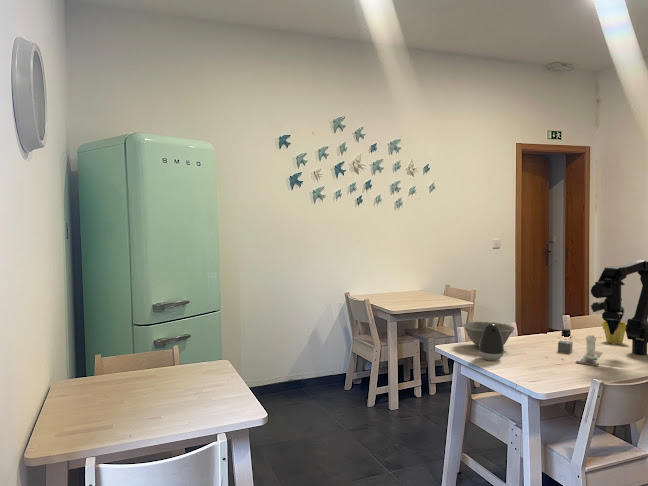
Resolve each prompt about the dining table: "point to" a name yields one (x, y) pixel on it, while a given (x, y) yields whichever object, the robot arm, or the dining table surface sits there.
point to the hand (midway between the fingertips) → (613, 332)
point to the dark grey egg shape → (491, 343)
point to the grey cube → (565, 346)
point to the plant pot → (615, 333)
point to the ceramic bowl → (477, 328)
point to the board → (590, 360)
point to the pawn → (590, 348)
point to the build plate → (566, 332)
